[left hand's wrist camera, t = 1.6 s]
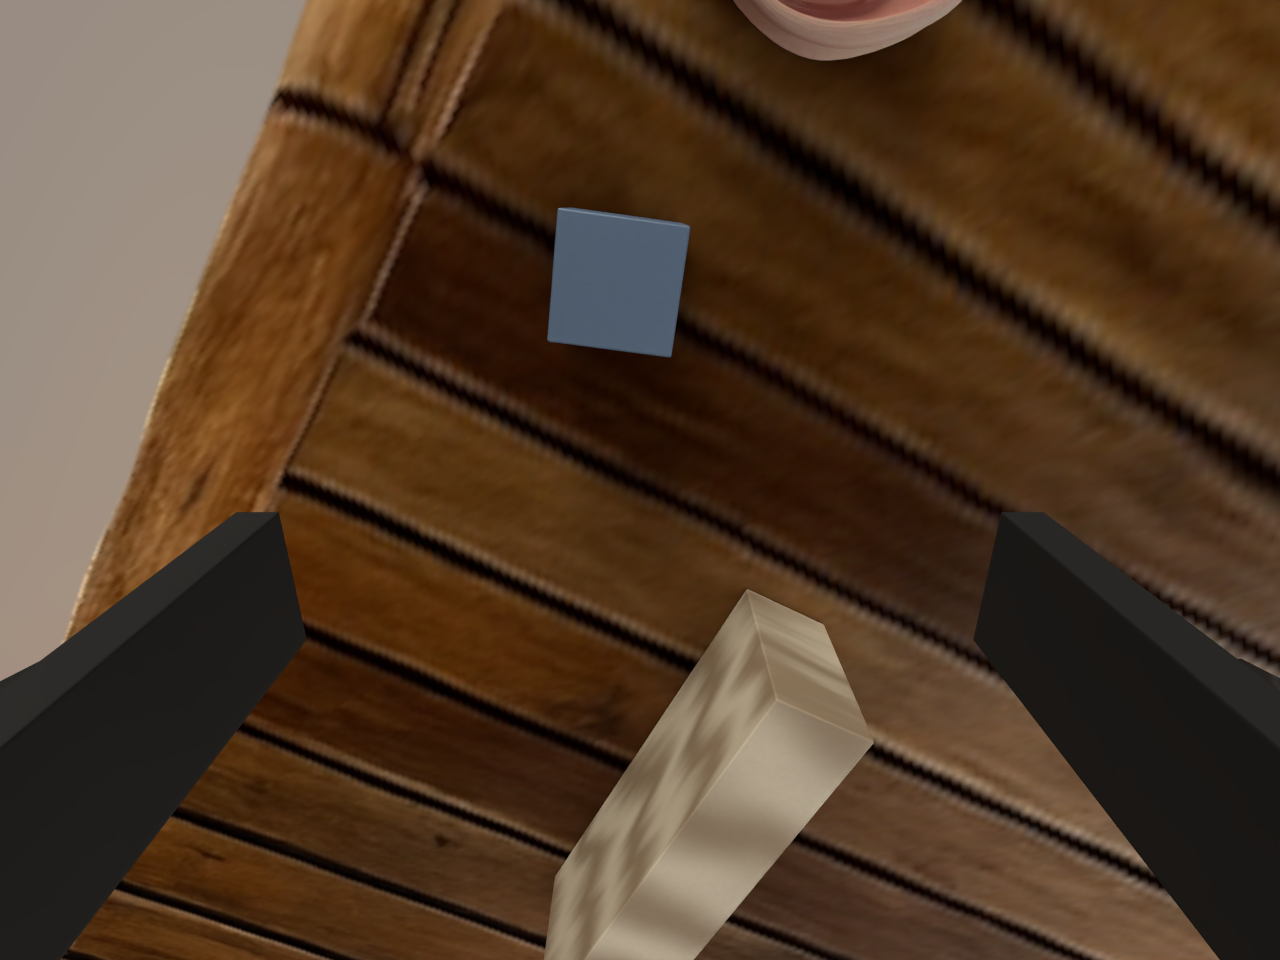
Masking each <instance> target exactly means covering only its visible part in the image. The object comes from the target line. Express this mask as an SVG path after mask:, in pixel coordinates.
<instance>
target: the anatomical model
mask: <svg viewBox="0 0 1280 960" xmlns="http://www.w3.org/2000/svg"><path fill="white" fill-rule="evenodd" d="M733 1H734V2H735V4H736V5H737V7H738V8H739V9H740V10H741V11H742V12H743V13H744V15H745V16H746V17H747V18H748V19H749V20H750V21H751V23H753V24H754V25H755V26H756V27H757V28H758V29H759V30H760V31H761V32H762V33H763V34H764V35H766V36H767V37H768V38H770V39H771V40H772V41H773V42H775V43H776V44H778V45H780V46H781V47H783V48H784V49H786V50H788V51H790V52H792V53H795V54H797V55H799V56H802V57H806V58H809V59H814V60H839V59H848V58H852V57H856V56H860V55H864V54H867V53H871V52H874V51H877V50H880V49H883V48H885V47H888V46H891V45H893V44H896V43H898V42H900V41H902V40H904V39H906V38H908V37H910V36H912V35H914V34H915V33H917V32H918V31H920V30H922V29H923V28H925V27H926V26H928V25H930V24H932V23H934V22H935V21H937V20H939V19H940V18H942V17H943V16H945V15H946V14H948V13H949V12H950V11H951V10H952V9H954V8H955V7H956V6H957V5H958V4H959V3H960V2H961V1H962V0H733Z"/></svg>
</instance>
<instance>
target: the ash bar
mask: <svg viewBox="0 0 1280 960" xmlns="http://www.w3.org/2000/svg"><path fill="white" fill-rule="evenodd" d="M873 743H874V741H873V738H872V736H871V734H870V731H869V729H868V727H867V724H866V722H865V720H864V717H863V715H862V713H861V710H860V708H859V706H858V704H857V701H856V699H855V697H854V694H853V692H852V690H851V687H850V685H849V683H848V680H847V678H846V676H845V673H844V671H843V669H842V666H841V664H840V662H839V659H838V657H837V655H836V652H835V650H834V648H833V645H832V643H831V641H830V638H829V636H828V634H827V631H826V629H825V627H824V625H823V624H821V623H819V622H817V621H815V620H813V619H811V618H808V617H806V616H804V615H802V614H800V613H798V612H796V611H793V610H791V609H789V608H787V607H785V606H783V605H781V604H778V603H776V602H774V601H772V600H770V599H768V598H766V597H763V596H761V595H759V594H757V593H755V592H753V591H751V590H748V589H747V590H746V591H745V593H744V594H743V596H742V597H741V599H740V600H739V602H738V603H737V605H736V606H735V608H734V609H733V611H732V612H731V614H730V615H729V617H728V618H727V620H726V621H725V623H724V624H723V626H722V627H721V629H720V630H719V632H718V633H717V635H716V636H715V638H714V639H713V641H712V642H711V644H710V645H709V647H708V648H707V650H706V651H705V653H704V654H703V656H702V657H701V659H700V660H699V662H698V663H697V665H696V666H695V668H694V669H693V671H692V672H691V674H690V675H689V677H688V678H687V680H686V681H685V683H684V684H683V686H682V687H681V689H680V690H679V692H678V693H677V695H676V696H675V698H674V699H673V701H672V702H671V704H670V705H669V707H668V708H667V710H666V711H665V713H664V714H663V716H662V717H661V719H660V720H659V722H658V723H657V725H656V726H655V728H654V729H653V731H652V732H651V734H650V735H649V737H648V738H647V740H646V741H645V743H644V744H643V746H642V747H641V749H640V750H639V752H638V753H637V755H636V756H635V758H634V759H633V761H632V762H631V764H630V765H629V767H628V768H627V769H626V771H625V772H624V774H623V775H622V777H621V778H620V780H619V781H618V783H617V784H616V786H615V787H614V789H613V790H612V792H611V793H610V795H609V796H608V798H607V799H606V801H605V802H604V804H603V805H602V807H601V808H600V810H599V811H598V813H597V814H596V816H595V817H594V819H593V820H592V822H591V823H590V825H589V826H588V828H587V829H586V831H585V832H584V834H583V835H582V837H581V838H580V840H579V841H578V843H577V844H576V846H575V847H574V849H573V850H572V852H571V853H570V855H569V856H568V858H567V859H566V861H565V862H564V864H563V865H562V867H561V868H560V870H559V871H558V873H557V874H556V876H555V881H554V889H553V896H552V904H551V911H550V919H549V927H548V934H547V942H546V949H545V957H544V960H694V959H695V957H696V956H697V955H698V954H699V953H700V951H701V950H702V949H703V948H704V947H705V945H706V944H707V943H708V942H709V941H710V939H711V938H712V937H713V936H714V935H715V933H716V932H717V931H718V930H719V929H720V927H721V926H722V925H723V924H724V922H725V921H726V920H727V919H728V918H729V916H730V915H731V914H732V913H733V912H734V910H735V909H736V908H737V907H738V906H739V904H740V903H741V902H742V901H743V900H744V898H745V897H746V896H747V895H748V894H749V892H750V891H751V890H752V889H753V888H754V886H755V885H756V884H757V883H758V882H759V880H760V879H761V878H762V877H763V876H764V874H765V873H766V872H767V871H768V869H769V868H770V867H771V866H772V865H773V863H774V862H775V861H776V860H777V859H778V857H779V856H780V855H781V854H782V853H783V851H784V850H785V849H786V848H787V847H788V845H789V844H790V843H791V842H792V841H793V839H794V838H795V837H796V836H797V835H798V833H799V832H800V831H801V830H802V829H803V827H804V826H805V825H806V824H807V822H808V821H809V820H810V819H811V818H812V816H813V815H814V814H815V813H816V812H817V810H818V809H819V808H820V807H821V806H822V804H823V803H824V802H825V801H826V800H827V798H828V797H829V796H830V795H831V794H832V792H833V791H834V790H835V789H836V788H837V786H838V785H839V784H840V783H841V782H842V780H843V779H844V778H845V777H846V776H847V774H848V773H849V772H850V771H851V769H852V768H853V767H854V766H855V765H856V763H857V762H858V761H859V760H860V759H861V757H862V756H863V755H864V754H865V753H866V751H867V750H868V749H869V748H870V747H871V745H872V744H873Z"/></svg>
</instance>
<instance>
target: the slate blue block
mask: <svg viewBox="0 0 1280 960" xmlns="http://www.w3.org/2000/svg"><path fill="white" fill-rule="evenodd" d="M689 234H690V227H689V226H688V225H685V224H683V223H679V222H671V221H664V220H657V219H650V218H643V217H636V216H628V215H621V214H614V213H607V212H600V211H593V210H585V209H578V208H558V211H557V224H556V237H555V249H554V262H553V275H552V288H551V300H550V313H549V326H548V341H549V342H556V343H563V344H571V345H579V346H586V347H594V348H602V349H609V350H617V351H625V352H632V353H640V354H648V355H655V356H663V357H671V355H672V349H673V342H674V335H675V328H676V322H677V315H678V308H679V301H680V295H681V288H682V281H683V274H684V268H685V261H686V254H687V247H688V240H689Z"/></svg>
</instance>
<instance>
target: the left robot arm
mask: <svg viewBox="0 0 1280 960" xmlns="http://www.w3.org/2000/svg"><path fill="white" fill-rule="evenodd" d="M305 641H306V635H305V631H304V626H303V621H302V617H301V612H300V608H299V603H298V599H297V594H296V589H295V585H294V580H293V576H292V571H291V567H290V562H289V557H288V553H287V548H286V544H285V539H284V535H283V530H282V525H281V521H280V516H279V512H236V513H235V514H234V515H232V516H231V517H230V518H228V519H227V520H226V521H224V522H223V523H222V524H220V525H219V526H218V527H216V528H215V529H214V530H213V531H211V532H210V533H209V534H207V535H206V536H205V537H203V538H202V539H201V540H199V541H198V542H197V543H195V544H194V545H193V546H191V547H190V548H189V549H187V550H186V551H185V552H183V553H182V554H181V555H180V556H178V557H177V558H176V559H174V560H173V561H172V562H170V563H169V564H168V565H166V566H165V567H164V568H162V569H161V570H160V571H158V572H157V573H156V574H154V575H153V576H152V577H150V578H149V579H148V580H146V581H145V582H144V583H143V584H141V585H140V586H139V587H137V588H136V589H135V590H133V591H132V592H131V593H129V594H128V595H127V596H125V597H124V598H123V599H121V600H120V601H119V602H117V603H116V604H115V605H113V606H112V607H111V608H109V609H108V610H107V611H106V612H104V613H103V614H102V615H100V616H99V617H98V618H96V619H95V620H94V621H92V622H91V623H90V624H88V625H87V626H86V627H84V628H83V629H82V630H80V631H79V632H78V633H76V634H75V635H74V636H73V637H71V638H70V639H69V640H67V641H66V642H65V643H63V644H62V645H61V646H59V647H58V648H57V649H55V650H54V651H53V652H51V653H50V654H49V655H47V656H46V657H45V658H44V659H42V660H41V661H39V662H37V663H35V664H33V665H31V666H29V667H28V668H26V669H24V670H22V671H20V672H18V673H16V674H14V675H12V676H10V677H8V678H6V679H4V680H2V681H0V960H60V959H61V958H62V957H63V955H64V954H65V953H66V951H67V950H68V949H69V948H70V946H71V945H72V944H73V942H74V941H75V940H76V938H77V937H78V936H79V935H80V933H81V932H82V931H83V929H84V928H85V927H86V925H87V924H88V923H89V922H90V920H91V919H92V918H93V916H94V915H95V914H96V913H97V911H98V910H99V909H100V907H101V906H102V905H103V903H104V902H105V901H106V900H107V898H108V897H109V896H110V894H111V893H112V892H113V890H114V889H115V888H116V887H117V885H118V884H119V883H120V881H121V880H122V879H123V877H124V876H125V875H126V874H127V872H128V871H129V870H130V868H131V867H132V866H133V864H134V863H135V862H136V861H137V859H138V858H139V857H140V855H141V854H142V853H143V851H144V850H145V849H146V848H147V846H148V845H149V844H150V842H151V841H152V840H153V839H154V837H155V836H156V835H157V833H158V832H159V831H160V829H161V828H162V827H163V826H164V824H165V823H166V822H167V820H168V819H169V818H170V816H171V815H172V814H173V813H174V811H175V810H176V809H177V807H178V806H179V805H180V803H181V802H182V801H183V800H184V798H185V797H186V796H187V794H188V793H189V792H190V790H191V789H192V788H193V787H194V785H195V784H196V783H197V781H198V780H199V779H200V777H201V776H202V775H203V774H204V772H205V771H206V770H207V768H208V767H209V766H210V764H211V763H212V762H213V761H214V759H215V758H216V757H217V755H218V754H219V753H220V752H221V750H222V749H223V748H224V746H225V745H226V744H227V742H228V741H229V740H230V739H231V737H232V736H233V735H234V733H235V732H236V731H237V729H238V728H239V727H240V726H241V724H242V723H243V722H244V720H245V719H246V718H247V716H248V715H249V714H250V713H251V711H252V710H253V709H254V707H255V706H256V705H257V703H258V702H259V701H260V700H261V698H262V697H263V696H264V694H265V693H266V692H267V690H268V689H269V688H270V687H271V685H272V684H273V683H274V681H275V680H276V679H277V678H278V676H279V675H280V674H281V672H282V671H283V670H284V668H285V667H286V666H287V665H288V663H289V662H290V661H291V659H292V658H293V657H294V655H295V654H296V653H297V652H298V650H299V649H300V648H301V646H302V645H303V644H304V642H305ZM974 641H975V642H976V644H977V645H978V646H979V648H980V649H981V650H982V652H983V653H984V654H985V655H986V657H987V658H988V659H989V661H990V662H991V663H992V665H993V666H994V667H995V668H996V670H997V671H998V672H999V674H1000V675H1001V676H1002V678H1003V679H1004V680H1005V681H1006V683H1007V684H1008V685H1009V687H1010V688H1011V689H1012V690H1013V692H1014V693H1015V694H1016V696H1017V697H1018V698H1019V700H1020V701H1021V702H1022V703H1023V705H1024V706H1025V707H1026V709H1027V710H1028V711H1029V713H1030V714H1031V715H1032V716H1033V718H1034V719H1035V720H1036V722H1037V723H1038V724H1039V726H1040V727H1041V728H1042V729H1043V731H1044V732H1045V733H1046V735H1047V736H1048V737H1049V739H1050V740H1051V741H1052V742H1053V744H1054V745H1055V746H1056V748H1057V749H1058V750H1059V752H1060V753H1061V754H1062V755H1063V757H1064V758H1065V759H1066V761H1067V762H1068V763H1069V765H1070V766H1071V767H1072V768H1073V770H1074V771H1075V772H1076V774H1077V775H1078V776H1079V777H1080V779H1081V780H1082V781H1083V783H1084V784H1085V785H1086V787H1087V788H1088V789H1089V790H1090V792H1091V793H1092V794H1093V796H1094V797H1095V798H1096V800H1097V801H1098V802H1099V803H1100V805H1101V806H1102V807H1103V809H1104V810H1105V811H1106V813H1107V814H1108V815H1109V816H1110V818H1111V819H1112V820H1113V822H1114V823H1115V824H1116V826H1117V827H1118V828H1119V829H1120V831H1121V832H1122V833H1123V835H1124V836H1125V837H1126V839H1127V840H1128V841H1129V842H1130V844H1131V845H1132V846H1133V848H1134V849H1135V850H1136V851H1137V853H1138V854H1139V855H1140V857H1141V858H1142V859H1143V861H1144V862H1145V863H1146V864H1147V866H1148V867H1149V868H1150V870H1151V871H1152V872H1153V874H1154V875H1155V876H1156V877H1157V879H1158V880H1159V881H1160V883H1161V884H1162V885H1163V887H1164V888H1165V889H1166V890H1167V892H1168V893H1169V894H1170V896H1171V897H1172V898H1173V900H1174V901H1175V902H1176V903H1177V905H1178V906H1179V907H1180V909H1181V910H1182V911H1183V913H1184V914H1185V915H1186V916H1187V918H1188V919H1189V920H1190V922H1191V923H1192V924H1193V925H1194V927H1195V928H1196V929H1197V931H1198V932H1199V933H1200V935H1201V936H1202V937H1203V938H1204V940H1205V941H1206V942H1207V944H1208V945H1209V946H1210V948H1211V949H1212V950H1213V951H1214V953H1215V954H1216V955H1217V957H1218V958H1219V959H1220V960H1280V678H1278V677H1276V676H1274V675H1272V674H1270V673H1268V672H1266V671H1264V670H1262V669H1260V668H1258V667H1256V666H1254V665H1252V664H1251V663H1249V662H1247V661H1245V660H1243V659H1237V658H1235V657H1234V656H1233V655H1231V654H1230V653H1229V652H1227V651H1226V650H1225V649H1223V648H1222V647H1221V646H1219V645H1218V644H1217V643H1215V642H1214V641H1213V640H1211V639H1210V638H1209V637H1207V636H1206V635H1205V634H1204V633H1202V632H1201V631H1200V630H1198V629H1197V628H1196V627H1194V626H1193V625H1192V624H1190V623H1189V622H1188V621H1186V620H1185V619H1184V618H1182V617H1181V616H1180V615H1178V614H1177V613H1176V612H1174V611H1173V610H1172V609H1171V608H1169V607H1168V606H1167V605H1165V604H1164V603H1163V602H1161V601H1160V600H1159V599H1157V598H1156V597H1155V596H1153V595H1152V594H1151V593H1149V592H1148V591H1147V590H1145V589H1144V588H1143V587H1141V586H1140V585H1139V584H1137V583H1136V582H1135V581H1134V580H1132V579H1131V578H1130V577H1128V576H1127V575H1126V574H1124V573H1123V572H1122V571H1120V570H1119V569H1118V568H1116V567H1115V566H1114V565H1112V564H1111V563H1110V562H1108V561H1107V560H1106V559H1104V558H1103V557H1102V556H1100V555H1099V554H1098V553H1097V552H1095V551H1094V550H1093V549H1091V548H1090V547H1089V546H1087V545H1086V544H1085V543H1083V542H1082V541H1081V540H1079V539H1078V538H1077V537H1075V536H1074V535H1073V534H1071V533H1070V532H1069V531H1067V530H1066V529H1065V528H1064V527H1062V526H1061V525H1060V524H1058V523H1057V522H1056V521H1054V520H1053V519H1052V518H1050V517H1049V516H1048V515H1046V514H1045V513H1044V512H1001V516H1000V521H999V525H998V530H997V535H996V539H995V544H994V548H993V553H992V557H991V562H990V567H989V571H988V576H987V580H986V585H985V589H984V594H983V599H982V603H981V608H980V612H979V617H978V621H977V626H976V631H975V635H974Z"/></svg>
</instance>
